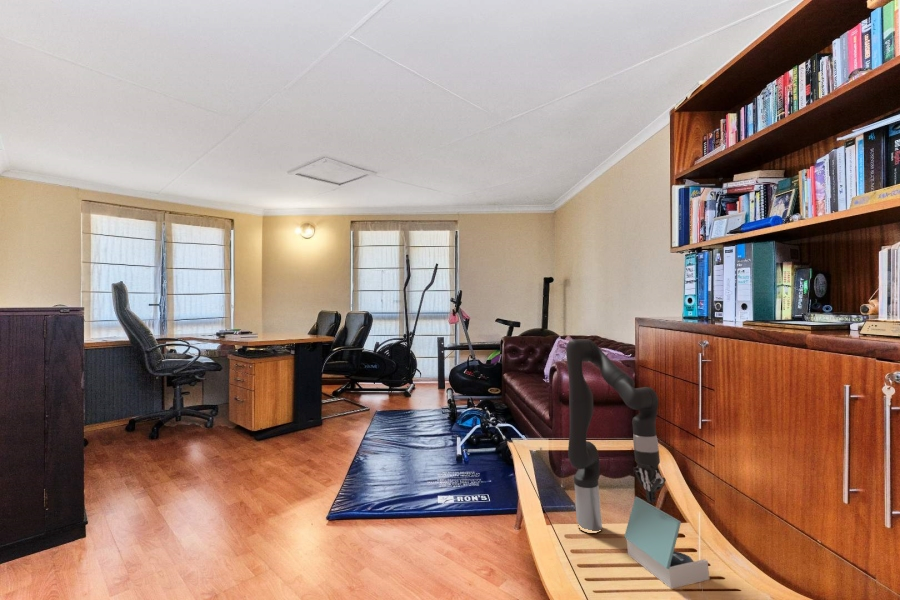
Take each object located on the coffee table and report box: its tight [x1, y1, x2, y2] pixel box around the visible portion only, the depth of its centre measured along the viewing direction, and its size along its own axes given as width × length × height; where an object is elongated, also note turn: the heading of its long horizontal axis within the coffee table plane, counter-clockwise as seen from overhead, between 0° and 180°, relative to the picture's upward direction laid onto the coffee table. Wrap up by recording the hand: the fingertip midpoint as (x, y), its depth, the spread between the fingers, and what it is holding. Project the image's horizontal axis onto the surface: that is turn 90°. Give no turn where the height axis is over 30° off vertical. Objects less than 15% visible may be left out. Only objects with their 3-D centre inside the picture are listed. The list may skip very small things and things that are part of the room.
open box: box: [626, 539, 710, 589], centre depth 130 cm, size 20×14×6 cm
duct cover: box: [624, 496, 682, 569], centre depth 130 cm, size 20×14×1 cm
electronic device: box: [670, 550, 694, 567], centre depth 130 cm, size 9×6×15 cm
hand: (651, 501), depth 131 cm, fingers closed
